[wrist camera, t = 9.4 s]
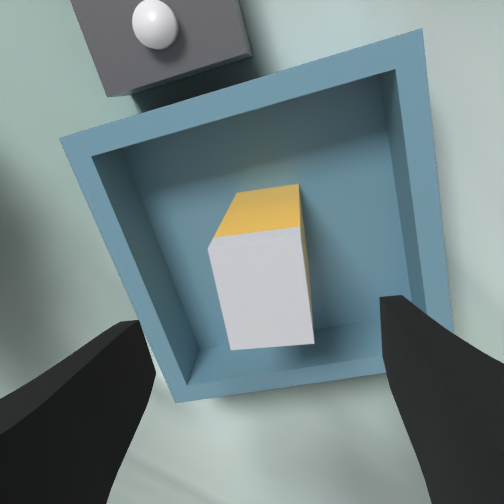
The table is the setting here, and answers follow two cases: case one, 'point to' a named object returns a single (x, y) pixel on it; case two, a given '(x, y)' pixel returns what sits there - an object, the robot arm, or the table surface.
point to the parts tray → (268, 176)
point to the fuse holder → (160, 40)
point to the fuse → (263, 270)
